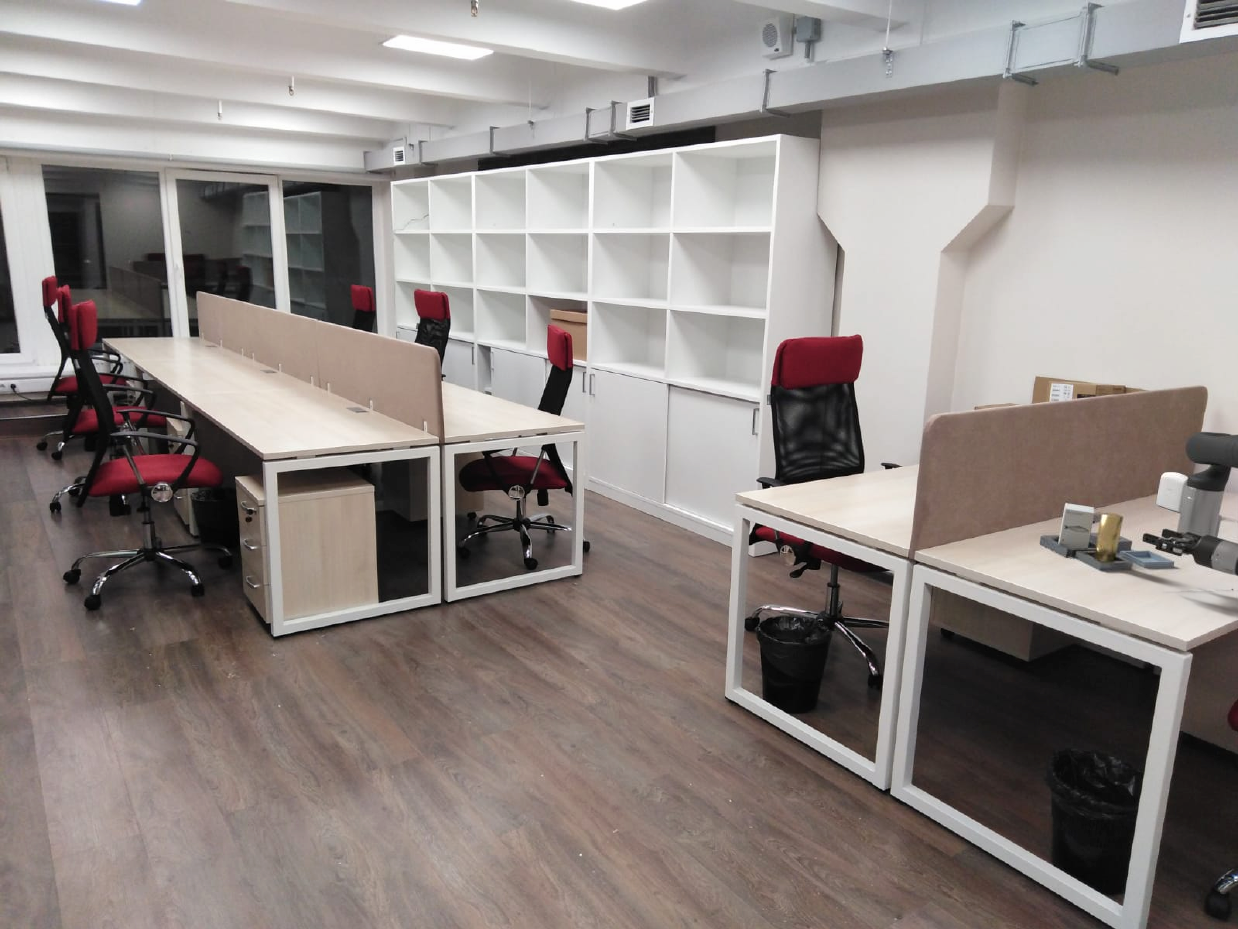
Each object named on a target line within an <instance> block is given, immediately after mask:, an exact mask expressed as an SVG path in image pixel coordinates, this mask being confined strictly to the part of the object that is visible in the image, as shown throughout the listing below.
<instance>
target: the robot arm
mask: <svg viewBox="0 0 1238 929" xmlns="http://www.w3.org/2000/svg"><path fill="white" fill-rule="evenodd" d="M1185 454H1186V457H1187V458H1188V459H1189V460H1190V461H1191V462H1193V463H1194V464H1199V465H1206V466H1207V465H1208V466H1209V467H1208V468H1207V469H1205V470H1202V471H1200V472H1196V473H1192V474H1190V475H1188V476H1187V477H1188V479H1187V483H1186V488H1185V493H1184V498H1183V503H1182V508H1181V513H1180V512H1179V513H1180V515H1179V520H1178V525H1177V528H1176V529H1177V530H1176V531H1175V530H1171V529H1169V528H1163V529H1162V531H1161V536H1157V535H1155V534H1151V533H1147V532H1146V533H1143V536H1142V538H1141V540H1142V542H1144V543H1146V544H1149V545H1153V546H1155V548H1154V549H1155V550H1157V551H1161V552H1165V553H1167V554H1171V555H1175V556H1176V557H1182V556H1183V555H1185V556H1189V555H1192V557H1193V561H1194V563H1195V564H1196V565H1199V566H1201V567H1205V568H1209V569H1212V570H1214V571H1218V572H1220V573H1222V574H1223V573H1224V574H1227V575H1232V576H1237V577H1238V542H1234V541H1231V540H1228V539H1225V538H1219V537H1218V536H1219V533H1220V532H1219V531H1220V527H1221V522H1222V518H1223V516H1222V515H1221V513H1220V512H1221V507H1222V504H1223V499H1224V494H1225V489H1226V486H1227V483H1228V482H1229V479H1230V475H1231V471H1232V469H1237V470H1238V434H1230V433H1224V432H1213V431H1212V432H1211V431H1199V432H1195V433H1193V434H1192V435H1191V436H1189V438H1188V439H1187V441H1186V444H1185Z"/></svg>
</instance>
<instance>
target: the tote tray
mask: <svg viewBox="0 0 1238 929" xmlns="http://www.w3.org/2000/svg"><path fill="white" fill-rule="evenodd" d="M1118 556H1120V557H1122V558H1124V559H1126V560H1129V561H1131V562H1133V564H1134V565H1137V566H1139V567H1141V568H1143V569H1151V568H1174V567H1175V561H1174V560H1172V559H1169V558H1167V557H1165V556H1162V555H1160V554H1158V553H1156V552H1154V551H1151V550H1150V549H1149V550H1131V551H1120V552H1119V554H1118Z"/></svg>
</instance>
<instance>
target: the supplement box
mask: <svg viewBox="0 0 1238 929" xmlns="http://www.w3.org/2000/svg"><path fill="white" fill-rule="evenodd" d="M1062 514H1063V516H1062V519H1061V524H1060V530H1059V535H1060V536H1059V541H1058V543H1060V544H1062V545H1064V546H1066V547H1068V548H1088V545H1089V539H1090V533H1092V528H1093V521H1094V517H1095V507H1093V506H1087V505H1081V504H1073V503H1068V502H1065V504H1064V509H1063V513H1062Z"/></svg>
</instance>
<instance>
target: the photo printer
mask: <svg viewBox="0 0 1238 929" xmlns="http://www.w3.org/2000/svg"><path fill="white" fill-rule="evenodd" d="M1188 477H1189V476H1187V475H1185V474H1184V473H1183V474H1182V473H1179V472H1174V471H1173V472H1172V471H1171V472H1170V471H1169V472H1164V473H1163V474H1161V477H1160V481H1159V486H1158V492H1157V497H1156V501H1155V502H1156V503H1155V504H1156V506H1159V507H1162V508H1165V509H1168V510H1172V511H1174V512H1176V513H1181V508H1182V503H1183V498H1184V493H1185V488H1186V483H1187V479H1188Z"/></svg>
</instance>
